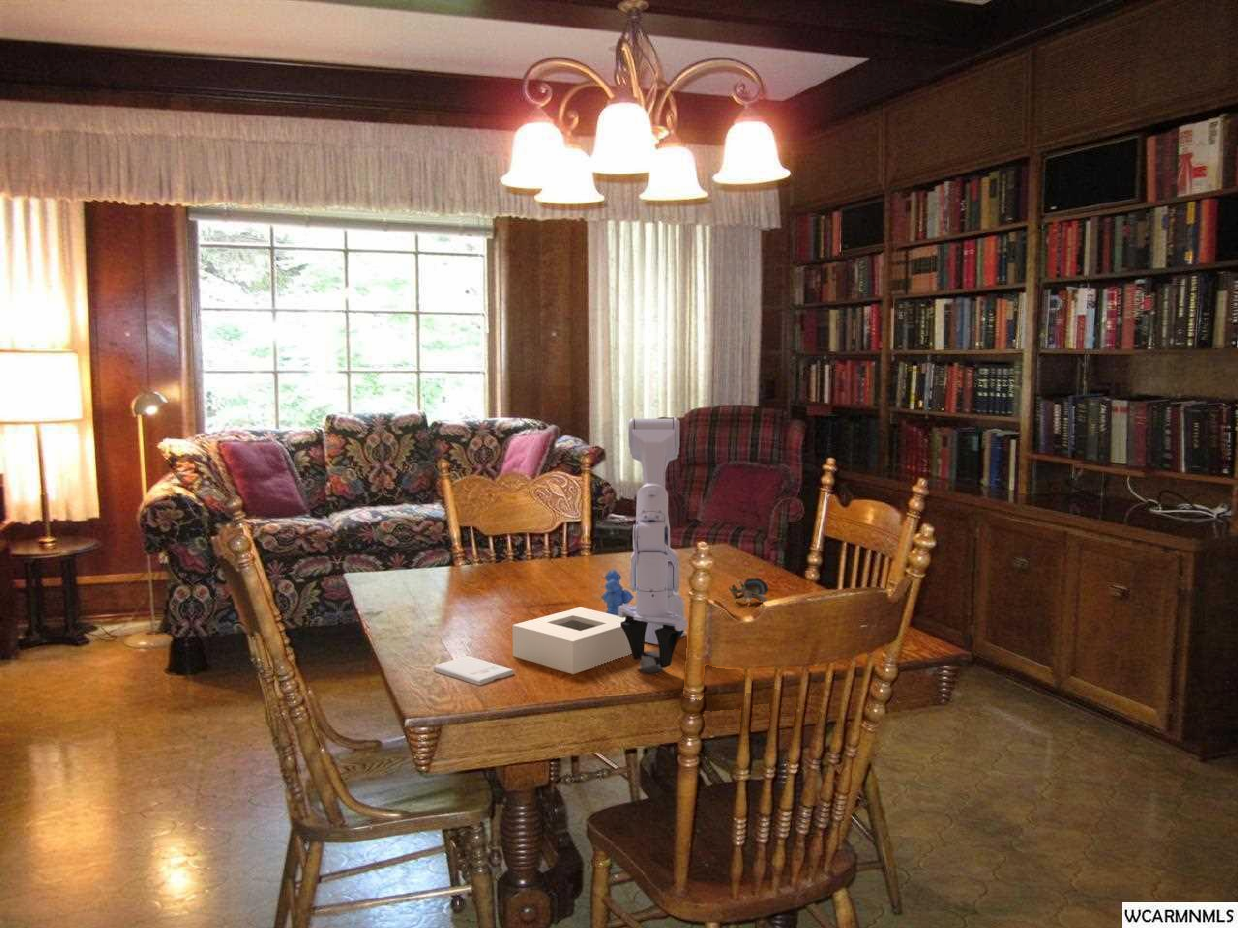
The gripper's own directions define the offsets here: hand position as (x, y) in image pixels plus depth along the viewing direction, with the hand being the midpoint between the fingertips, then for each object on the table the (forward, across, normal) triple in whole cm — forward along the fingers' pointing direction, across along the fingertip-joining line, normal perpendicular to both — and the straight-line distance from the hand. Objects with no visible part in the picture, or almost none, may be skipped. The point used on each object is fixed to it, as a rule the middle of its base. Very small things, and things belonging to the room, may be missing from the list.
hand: (651, 662), depth 177 cm
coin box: (+1, -17, -2) cm, 17 cm away
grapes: (+2, -25, +18) cm, 31 cm away
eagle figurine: (+2, -14, +51) cm, 53 cm away
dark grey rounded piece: (+2, 0, 0) cm, 2 cm away
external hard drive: (+2, -23, -22) cm, 32 cm away
